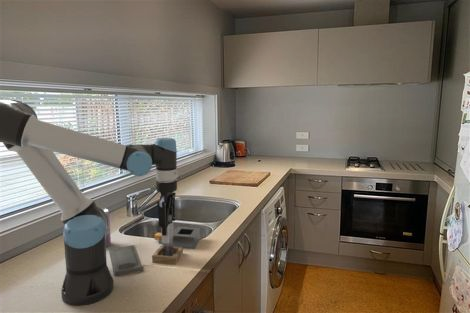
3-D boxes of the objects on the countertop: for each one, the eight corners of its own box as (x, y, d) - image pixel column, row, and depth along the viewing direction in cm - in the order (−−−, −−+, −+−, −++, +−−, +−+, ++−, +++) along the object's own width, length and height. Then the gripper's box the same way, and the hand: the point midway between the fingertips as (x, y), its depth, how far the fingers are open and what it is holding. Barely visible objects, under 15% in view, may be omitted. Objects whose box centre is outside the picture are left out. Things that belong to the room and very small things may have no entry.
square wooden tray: (175, 266, 120) (175, 258, 120) (152, 264, 122) (152, 256, 121) (182, 255, 129) (182, 247, 129) (160, 253, 130) (160, 245, 130)
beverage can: (106, 240, 141) (104, 207, 139) (113, 244, 138) (112, 210, 135) (92, 245, 137) (90, 211, 134) (100, 249, 133) (98, 214, 131)
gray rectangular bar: (171, 257, 123) (170, 217, 120) (161, 257, 123) (160, 216, 121) (174, 253, 127) (174, 213, 124) (164, 252, 127) (164, 213, 125)
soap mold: (135, 249, 135) (135, 241, 135) (143, 272, 118) (143, 263, 117) (108, 253, 131) (108, 245, 130) (113, 278, 113) (112, 268, 113)
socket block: (194, 251, 133) (194, 237, 132) (156, 248, 135) (156, 234, 134) (200, 241, 143) (200, 228, 142) (165, 238, 145) (164, 225, 144)
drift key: (170, 240, 138) (170, 236, 137) (154, 239, 139) (154, 235, 138) (172, 238, 141) (172, 233, 140) (157, 236, 142) (157, 232, 141)
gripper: (168, 186, 111) (169, 250, 115) (183, 175, 128) (183, 232, 132) (147, 185, 112) (149, 249, 116) (164, 174, 129) (165, 230, 133)
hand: (167, 239), depth 124 cm, fingers closed on gray rectangular bar, 4 cm apart
